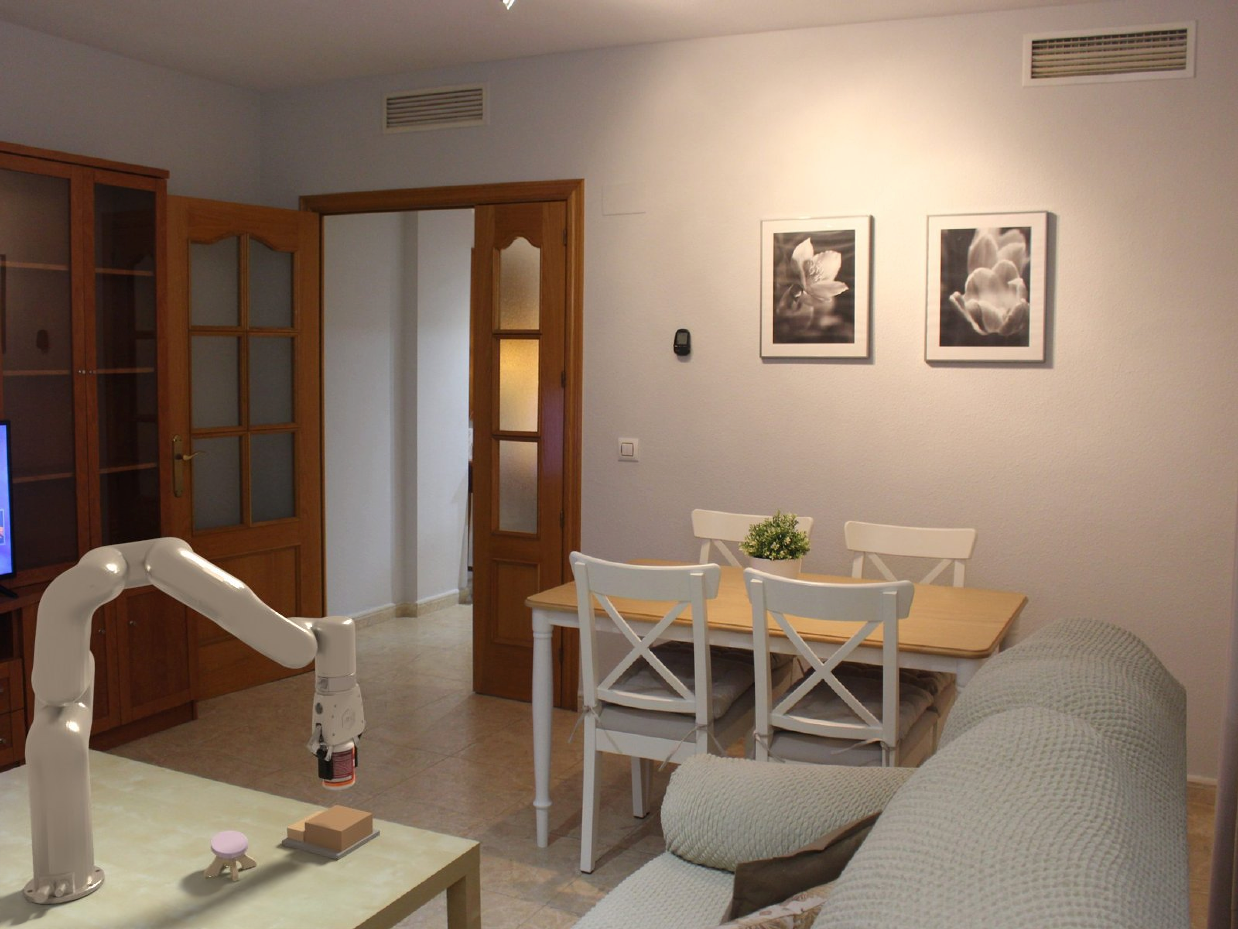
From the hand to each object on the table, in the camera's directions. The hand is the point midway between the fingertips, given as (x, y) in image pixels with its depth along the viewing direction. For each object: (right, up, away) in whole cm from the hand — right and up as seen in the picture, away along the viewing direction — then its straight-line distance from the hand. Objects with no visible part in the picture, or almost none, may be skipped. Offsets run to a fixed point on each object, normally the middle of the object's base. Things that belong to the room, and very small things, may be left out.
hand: (338, 771), depth 204 cm
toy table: (-17, -15, -11) cm, 25 cm away
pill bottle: (0, -3, 0) cm, 3 cm away
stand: (-2, -14, +2) cm, 14 cm away
